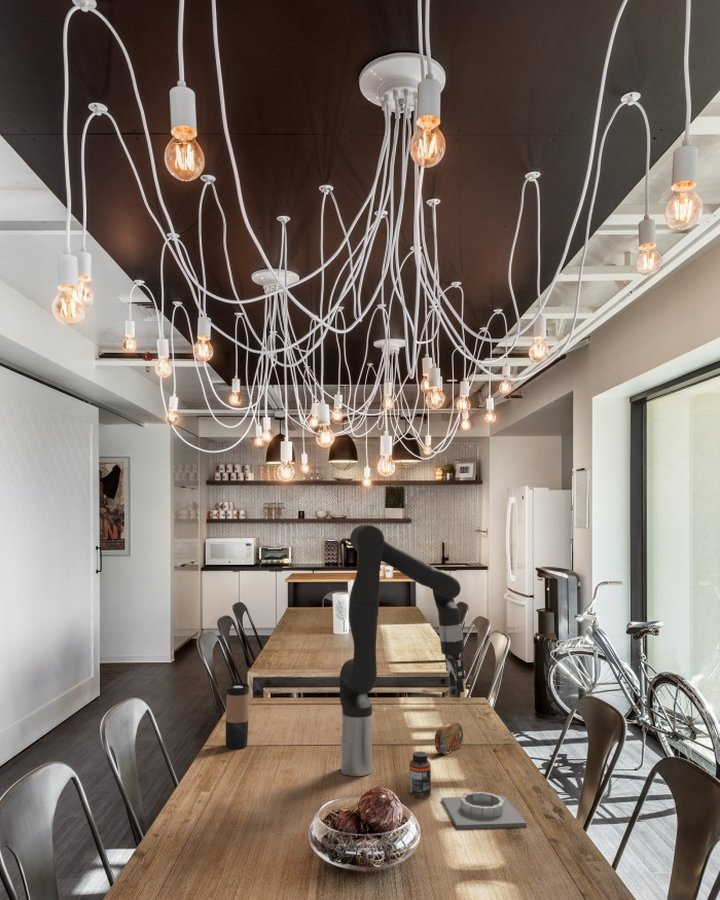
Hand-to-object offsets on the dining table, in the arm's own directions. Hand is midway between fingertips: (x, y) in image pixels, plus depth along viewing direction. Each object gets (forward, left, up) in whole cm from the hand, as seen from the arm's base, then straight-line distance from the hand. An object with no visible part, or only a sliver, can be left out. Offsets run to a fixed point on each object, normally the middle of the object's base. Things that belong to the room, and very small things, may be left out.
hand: (456, 689), depth 235 cm
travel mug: (-71, +21, -23) cm, 77 cm away
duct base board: (-3, -40, -23) cm, 46 cm away
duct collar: (-3, -40, -23) cm, 46 cm away
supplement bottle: (-17, -26, -23) cm, 39 cm away
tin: (0, +12, -23) cm, 26 cm away
